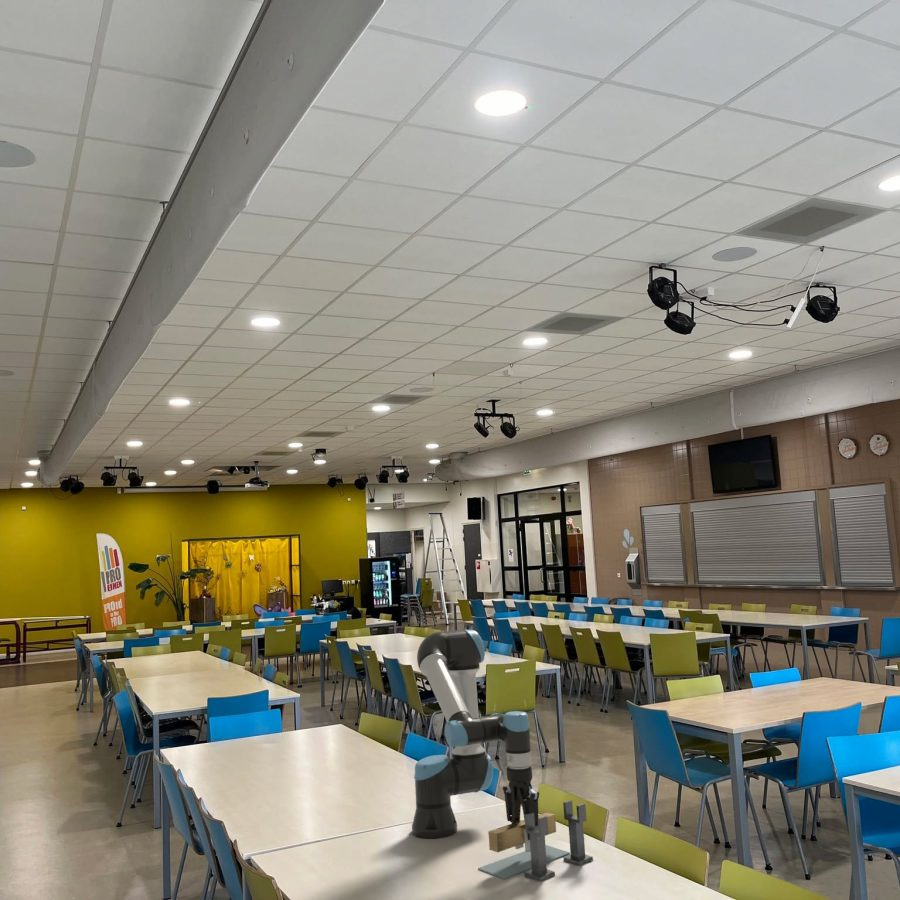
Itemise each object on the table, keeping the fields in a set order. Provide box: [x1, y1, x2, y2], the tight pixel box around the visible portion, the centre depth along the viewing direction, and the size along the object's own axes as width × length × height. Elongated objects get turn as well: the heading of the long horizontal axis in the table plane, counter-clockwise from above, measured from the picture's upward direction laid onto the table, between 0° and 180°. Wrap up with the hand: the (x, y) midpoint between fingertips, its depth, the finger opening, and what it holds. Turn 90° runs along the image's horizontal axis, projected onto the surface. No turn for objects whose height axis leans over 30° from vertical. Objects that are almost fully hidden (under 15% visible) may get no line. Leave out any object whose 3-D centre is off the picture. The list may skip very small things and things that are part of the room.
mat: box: [477, 844, 571, 880], centre depth 240 cm, size 11×27×1 cm, turn 129°
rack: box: [523, 799, 594, 883], centre depth 234 cm, size 6×22×16 cm, turn 129°
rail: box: [488, 812, 557, 853], centre depth 241 cm, size 4×24×5 cm, turn 129°
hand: (524, 849), depth 240 cm, fingers closed on rail, 3 cm apart
